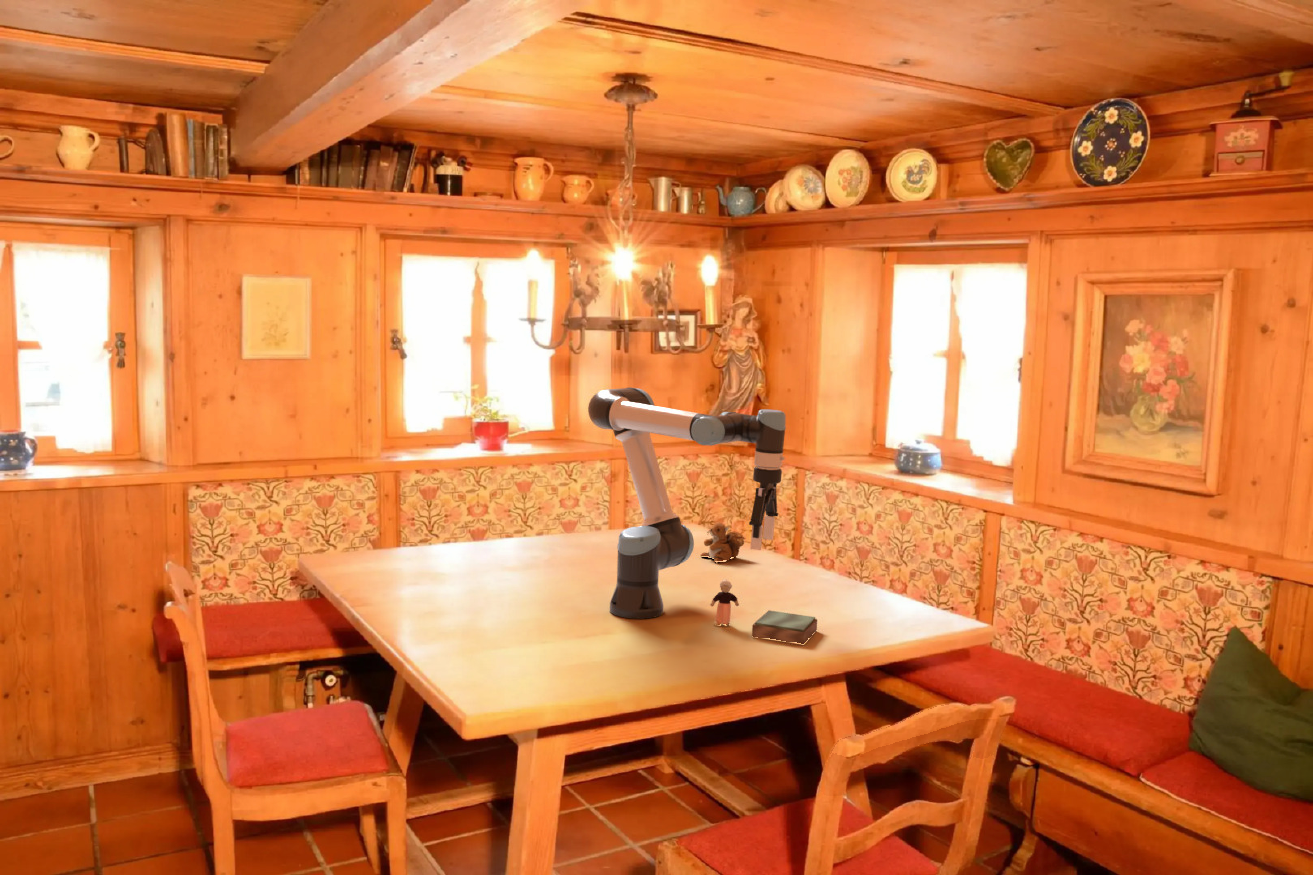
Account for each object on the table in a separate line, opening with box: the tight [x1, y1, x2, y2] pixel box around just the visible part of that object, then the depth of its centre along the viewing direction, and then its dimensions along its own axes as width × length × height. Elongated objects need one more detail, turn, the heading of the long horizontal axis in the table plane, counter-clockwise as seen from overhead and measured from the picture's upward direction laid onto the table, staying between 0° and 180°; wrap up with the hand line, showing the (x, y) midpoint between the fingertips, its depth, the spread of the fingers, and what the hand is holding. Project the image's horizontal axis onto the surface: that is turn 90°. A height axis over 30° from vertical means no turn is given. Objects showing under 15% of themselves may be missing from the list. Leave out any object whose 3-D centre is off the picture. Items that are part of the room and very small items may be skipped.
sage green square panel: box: [751, 609, 818, 644], centre depth 279 cm, size 14×14×4 cm
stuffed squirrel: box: [700, 521, 746, 561], centre depth 362 cm, size 10×14×13 cm
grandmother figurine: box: [709, 579, 740, 625], centre depth 285 cm, size 8×4×13 cm, turn 106°
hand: (761, 544), depth 285 cm, fingers open, 13 cm apart
